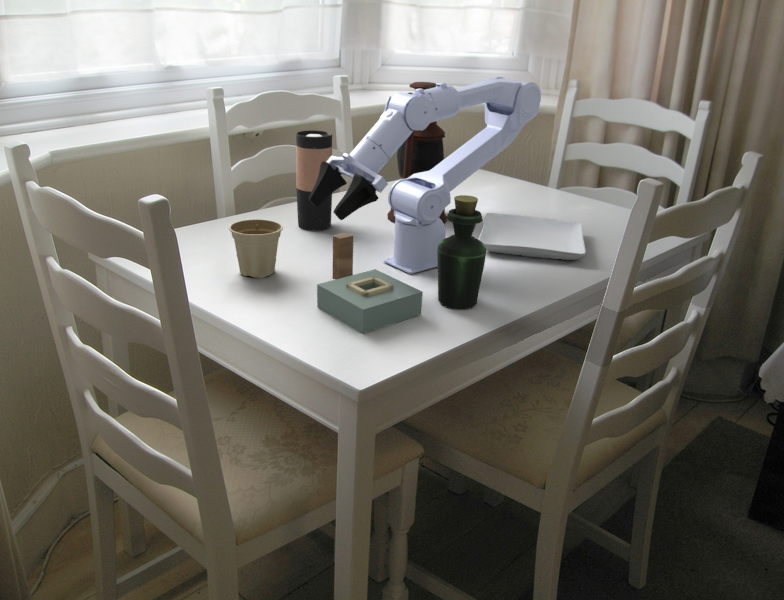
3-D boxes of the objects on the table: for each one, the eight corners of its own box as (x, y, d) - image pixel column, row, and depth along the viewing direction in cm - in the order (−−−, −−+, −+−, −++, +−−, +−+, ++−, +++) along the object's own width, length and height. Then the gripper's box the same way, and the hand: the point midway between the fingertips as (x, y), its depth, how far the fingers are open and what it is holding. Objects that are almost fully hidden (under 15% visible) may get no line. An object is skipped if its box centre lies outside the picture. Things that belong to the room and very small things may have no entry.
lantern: (431, 233, 153) (440, 90, 141) (373, 223, 158) (377, 84, 146) (458, 213, 168) (468, 82, 156) (404, 205, 173) (410, 77, 161)
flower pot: (260, 259, 134) (258, 215, 131) (294, 272, 129) (294, 226, 126) (220, 271, 128) (217, 226, 124) (254, 286, 122) (252, 238, 119)
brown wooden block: (332, 277, 127) (332, 235, 124) (346, 274, 129) (346, 232, 126) (339, 281, 126) (339, 238, 123) (352, 277, 128) (353, 235, 124)
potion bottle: (491, 302, 120) (502, 199, 113) (462, 316, 114) (471, 208, 107) (452, 289, 125) (460, 189, 117) (423, 301, 119) (430, 197, 112)
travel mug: (291, 229, 152) (290, 135, 144) (304, 219, 159) (303, 129, 151) (325, 233, 150) (325, 138, 142) (336, 222, 157) (337, 132, 149)
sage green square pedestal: (374, 290, 122) (375, 265, 121) (421, 314, 114) (422, 288, 112) (317, 306, 115) (317, 280, 113) (362, 333, 107) (363, 305, 105)
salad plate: (584, 268, 138) (587, 252, 136) (475, 257, 141) (477, 240, 140) (580, 235, 157) (582, 221, 156) (484, 226, 161) (485, 211, 159)
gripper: (338, 124, 123) (288, 182, 121) (390, 143, 113) (336, 207, 111) (359, 152, 128) (310, 208, 126) (410, 172, 118) (359, 233, 116)
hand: (324, 209), depth 119 cm, fingers open, 7 cm apart
